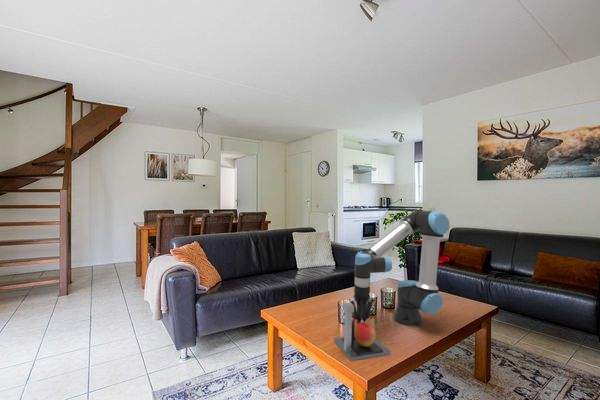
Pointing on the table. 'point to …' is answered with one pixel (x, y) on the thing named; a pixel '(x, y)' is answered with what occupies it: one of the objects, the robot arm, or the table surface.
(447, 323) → the table surface
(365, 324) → the apple
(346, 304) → the stand
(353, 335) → the lever
